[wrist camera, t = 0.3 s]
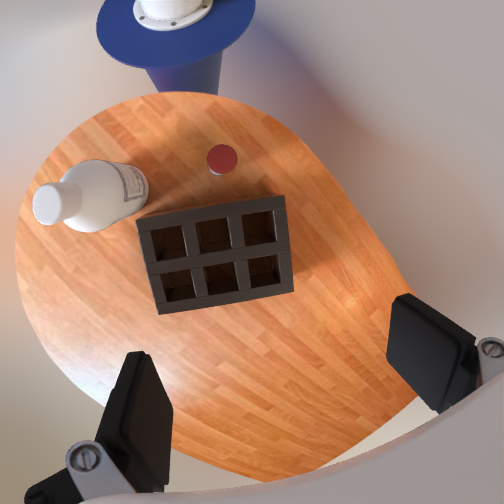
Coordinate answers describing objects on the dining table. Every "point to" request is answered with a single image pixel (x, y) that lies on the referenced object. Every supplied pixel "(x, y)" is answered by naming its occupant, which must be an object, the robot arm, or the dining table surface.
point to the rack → (217, 254)
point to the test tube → (221, 159)
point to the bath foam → (92, 196)
